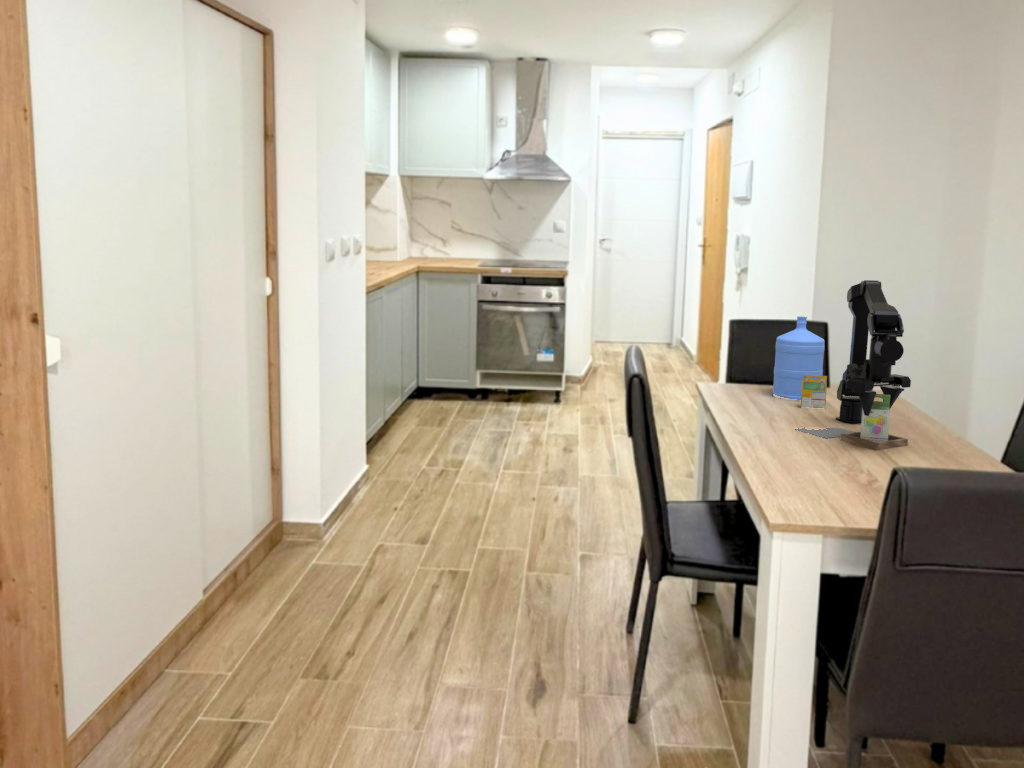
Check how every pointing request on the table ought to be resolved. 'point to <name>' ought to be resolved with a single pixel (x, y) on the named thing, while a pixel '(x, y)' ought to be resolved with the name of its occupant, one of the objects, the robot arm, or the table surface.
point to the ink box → (877, 420)
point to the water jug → (797, 360)
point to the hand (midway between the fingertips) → (875, 414)
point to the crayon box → (814, 392)
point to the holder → (891, 443)
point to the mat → (826, 432)
